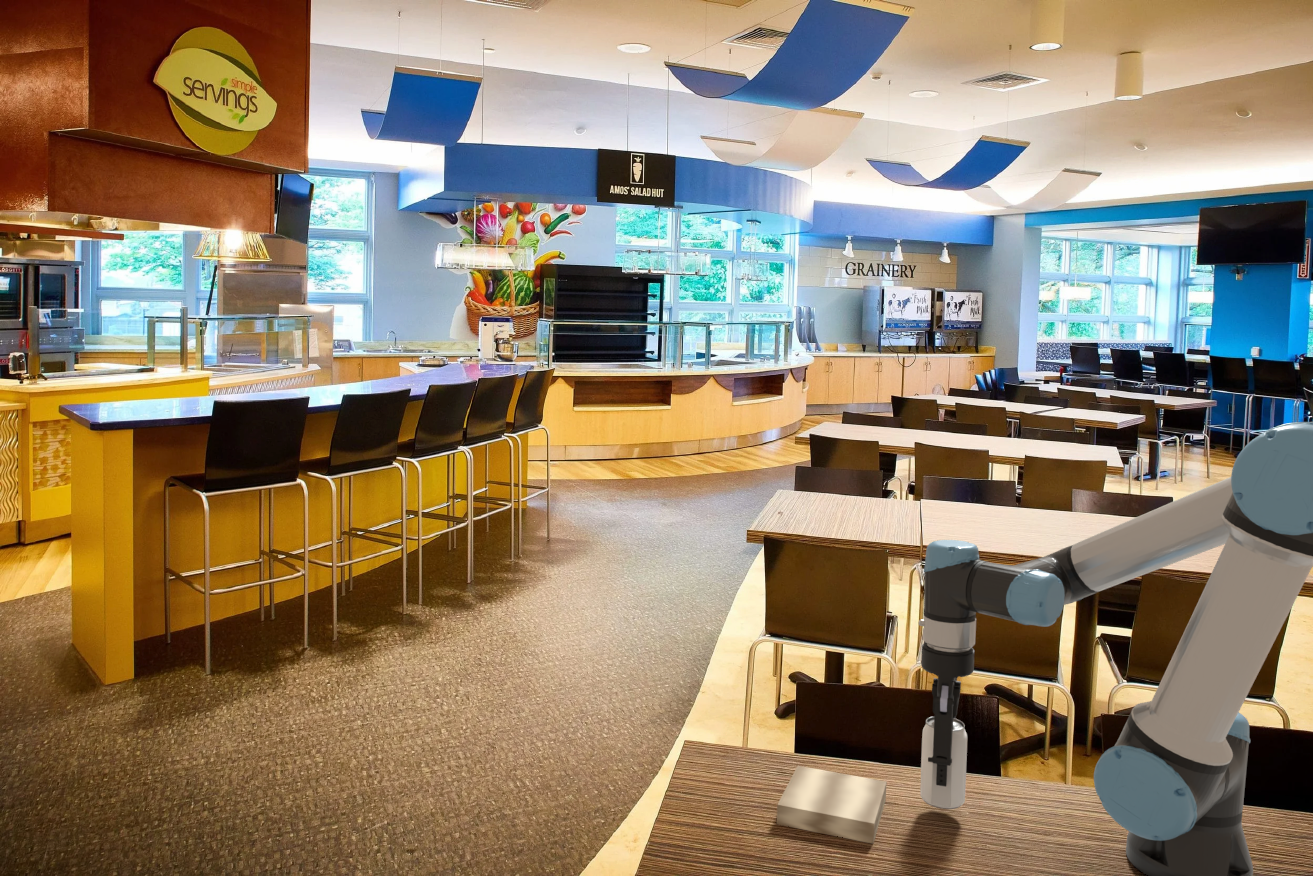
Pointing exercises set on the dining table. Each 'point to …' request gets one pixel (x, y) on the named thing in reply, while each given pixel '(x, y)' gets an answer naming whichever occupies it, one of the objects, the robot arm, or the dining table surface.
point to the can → (957, 763)
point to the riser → (832, 804)
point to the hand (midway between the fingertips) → (942, 793)
